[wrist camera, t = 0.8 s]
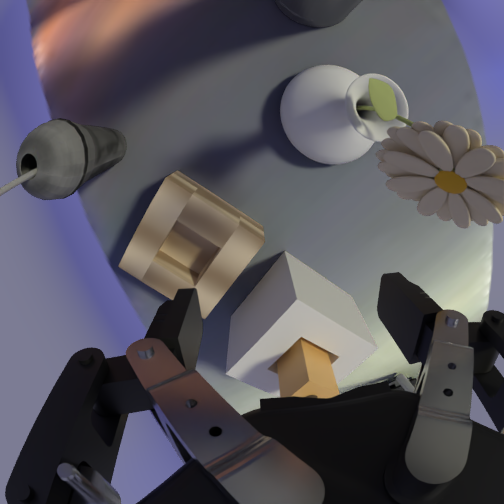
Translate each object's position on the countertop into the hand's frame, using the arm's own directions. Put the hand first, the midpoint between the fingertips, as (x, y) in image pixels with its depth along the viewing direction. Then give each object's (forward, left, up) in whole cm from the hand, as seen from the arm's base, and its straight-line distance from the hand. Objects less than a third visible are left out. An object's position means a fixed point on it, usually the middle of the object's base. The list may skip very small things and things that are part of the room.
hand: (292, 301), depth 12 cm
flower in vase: (-11, +1, -23) cm, 26 cm away
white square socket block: (+11, +12, -23) cm, 28 cm away
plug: (+11, +12, -15) cm, 22 cm away
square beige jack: (+10, -4, -23) cm, 25 cm away
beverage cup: (+6, -19, -23) cm, 30 cm away
